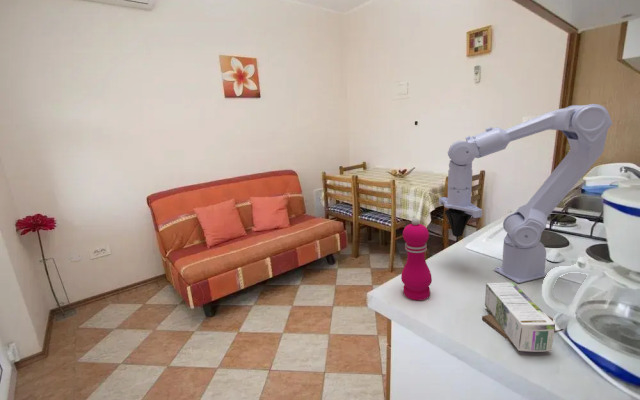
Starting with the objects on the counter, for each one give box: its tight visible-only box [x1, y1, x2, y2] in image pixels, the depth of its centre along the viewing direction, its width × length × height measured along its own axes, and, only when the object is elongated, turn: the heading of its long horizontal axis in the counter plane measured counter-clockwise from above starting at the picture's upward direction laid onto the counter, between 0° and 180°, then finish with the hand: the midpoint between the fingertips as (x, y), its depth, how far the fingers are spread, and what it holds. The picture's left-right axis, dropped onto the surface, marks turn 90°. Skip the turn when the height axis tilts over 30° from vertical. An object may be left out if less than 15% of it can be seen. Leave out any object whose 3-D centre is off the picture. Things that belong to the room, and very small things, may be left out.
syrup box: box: [484, 281, 555, 353], centre depth 60 cm, size 6×6×14 cm
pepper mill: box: [400, 217, 433, 301], centre depth 74 cm, size 7×7×20 cm
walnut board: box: [481, 313, 556, 344], centre depth 62 cm, size 12×8×1 cm, turn 105°
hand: (457, 235), depth 84 cm, fingers closed
